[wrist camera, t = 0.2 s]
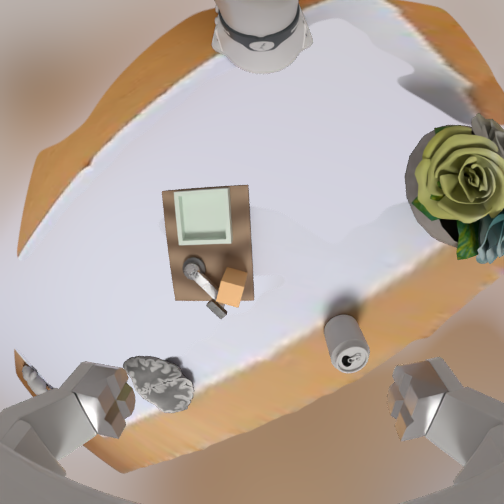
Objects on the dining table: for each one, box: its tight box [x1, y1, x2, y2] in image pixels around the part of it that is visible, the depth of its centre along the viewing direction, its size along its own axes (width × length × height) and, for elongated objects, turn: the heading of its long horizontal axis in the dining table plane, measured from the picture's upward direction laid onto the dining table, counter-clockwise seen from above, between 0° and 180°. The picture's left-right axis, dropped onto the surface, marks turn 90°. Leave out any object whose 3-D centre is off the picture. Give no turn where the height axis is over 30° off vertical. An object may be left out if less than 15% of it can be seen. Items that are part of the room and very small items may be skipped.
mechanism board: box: [162, 185, 254, 301], centre depth 55 cm, size 22×16×2 cm
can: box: [324, 315, 370, 373], centre depth 54 cm, size 8×8×12 cm
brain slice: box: [123, 356, 194, 413], centre depth 66 cm, size 20×17×3 cm
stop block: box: [216, 267, 247, 307], centre depth 53 cm, size 4×4×7 cm
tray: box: [174, 187, 233, 245], centre depth 52 cm, size 10×10×2 cm
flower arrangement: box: [405, 113, 504, 264], centre depth 38 cm, size 25×25×24 cm
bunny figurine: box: [22, 365, 48, 395], centre depth 72 cm, size 10×5×15 cm
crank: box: [184, 262, 227, 319], centre depth 53 cm, size 11×3×6 cm, turn 44°
